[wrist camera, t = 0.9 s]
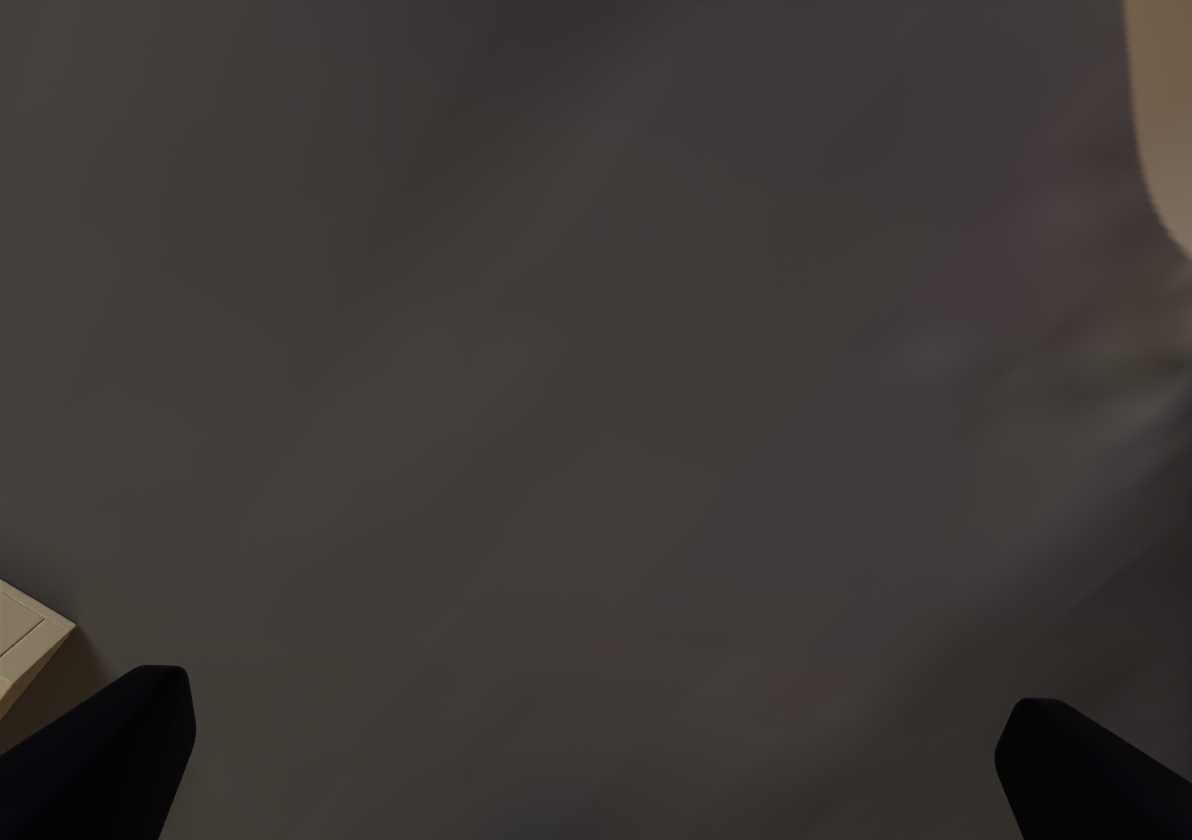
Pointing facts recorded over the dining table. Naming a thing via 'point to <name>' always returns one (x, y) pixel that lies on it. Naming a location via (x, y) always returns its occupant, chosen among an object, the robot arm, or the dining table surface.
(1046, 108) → the dining table surface
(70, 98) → the dining table surface
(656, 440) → the dining table surface
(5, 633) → the tray
